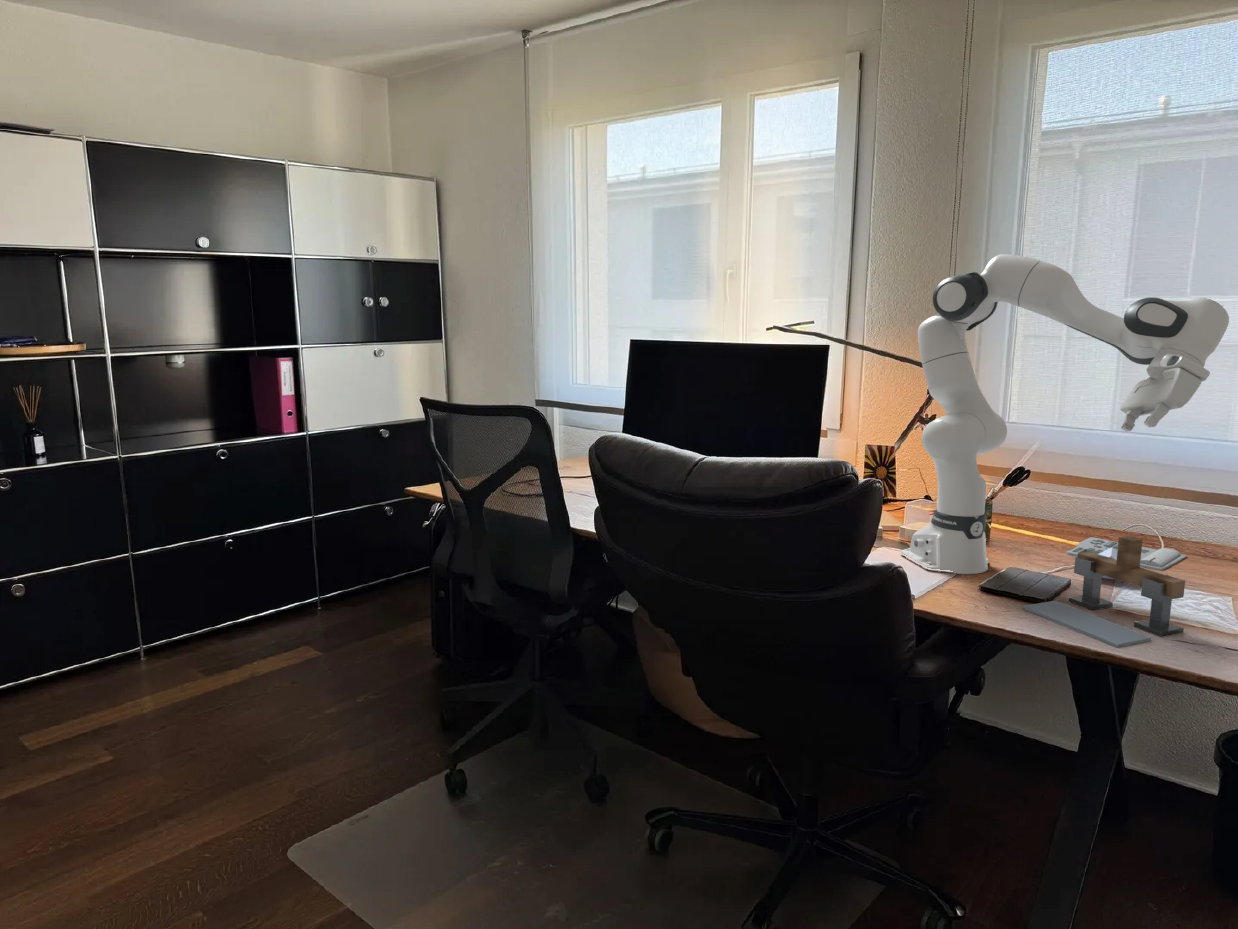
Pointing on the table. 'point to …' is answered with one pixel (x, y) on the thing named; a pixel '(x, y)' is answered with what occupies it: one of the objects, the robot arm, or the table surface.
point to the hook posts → (1150, 589)
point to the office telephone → (1148, 556)
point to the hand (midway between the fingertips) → (1136, 427)
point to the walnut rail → (1131, 566)
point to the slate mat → (1087, 624)
